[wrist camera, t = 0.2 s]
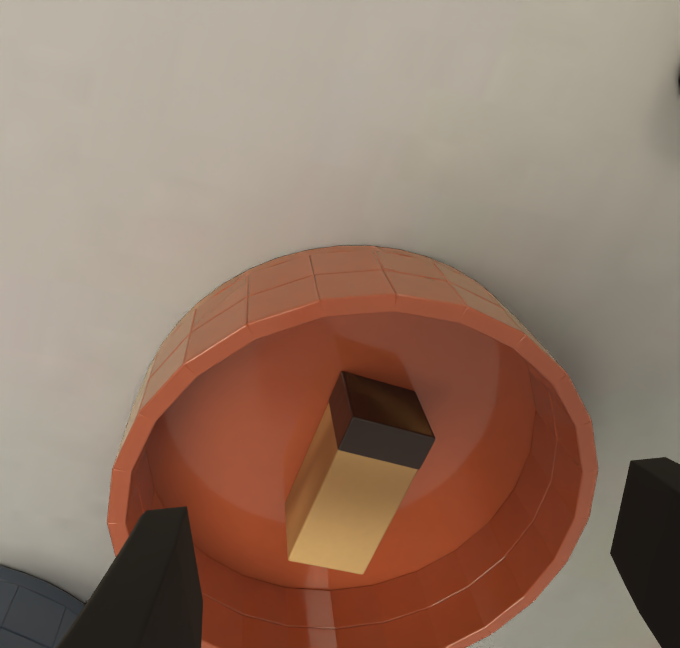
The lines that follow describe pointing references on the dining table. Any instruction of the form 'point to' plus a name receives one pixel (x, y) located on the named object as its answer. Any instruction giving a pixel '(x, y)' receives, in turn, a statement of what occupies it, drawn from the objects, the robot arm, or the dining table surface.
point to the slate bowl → (33, 611)
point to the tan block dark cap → (355, 473)
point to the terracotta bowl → (301, 425)
